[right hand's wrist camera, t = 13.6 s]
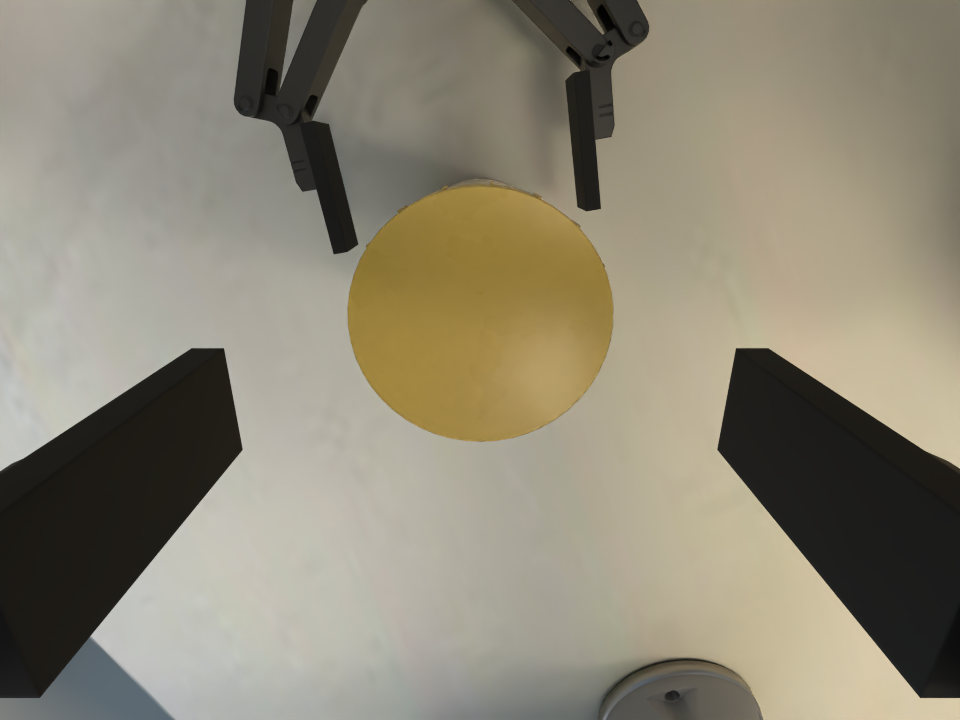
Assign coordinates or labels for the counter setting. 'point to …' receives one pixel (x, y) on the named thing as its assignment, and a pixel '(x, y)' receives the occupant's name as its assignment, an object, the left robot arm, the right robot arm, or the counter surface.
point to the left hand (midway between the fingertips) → (466, 229)
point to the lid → (480, 312)
